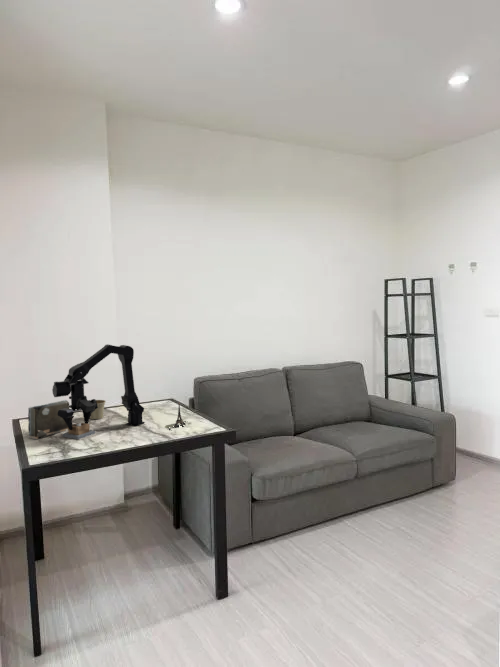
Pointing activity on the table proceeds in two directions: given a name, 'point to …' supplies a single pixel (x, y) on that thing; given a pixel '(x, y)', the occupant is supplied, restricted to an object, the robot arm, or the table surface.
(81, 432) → the collar
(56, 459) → the table surface
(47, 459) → the table surface
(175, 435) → the table surface
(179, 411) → the eiffel tower figurine
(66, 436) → the hub
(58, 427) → the radio
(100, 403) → the flower pot
